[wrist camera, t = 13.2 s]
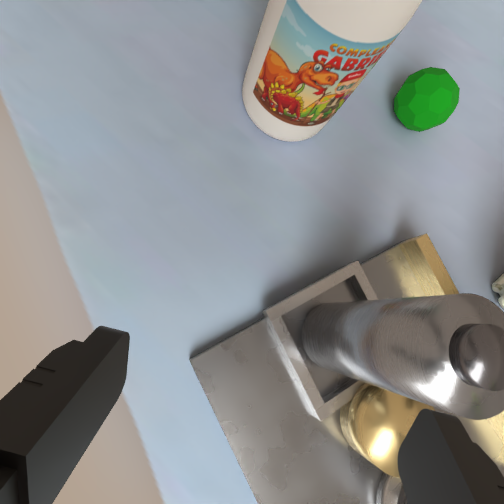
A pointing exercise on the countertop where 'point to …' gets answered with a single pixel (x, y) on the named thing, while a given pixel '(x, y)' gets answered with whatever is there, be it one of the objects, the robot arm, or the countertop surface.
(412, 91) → the polyhedron
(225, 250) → the countertop surface
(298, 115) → the milk bottle
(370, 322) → the cylinder
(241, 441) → the carrier plate
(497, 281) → the pneumatic valve
